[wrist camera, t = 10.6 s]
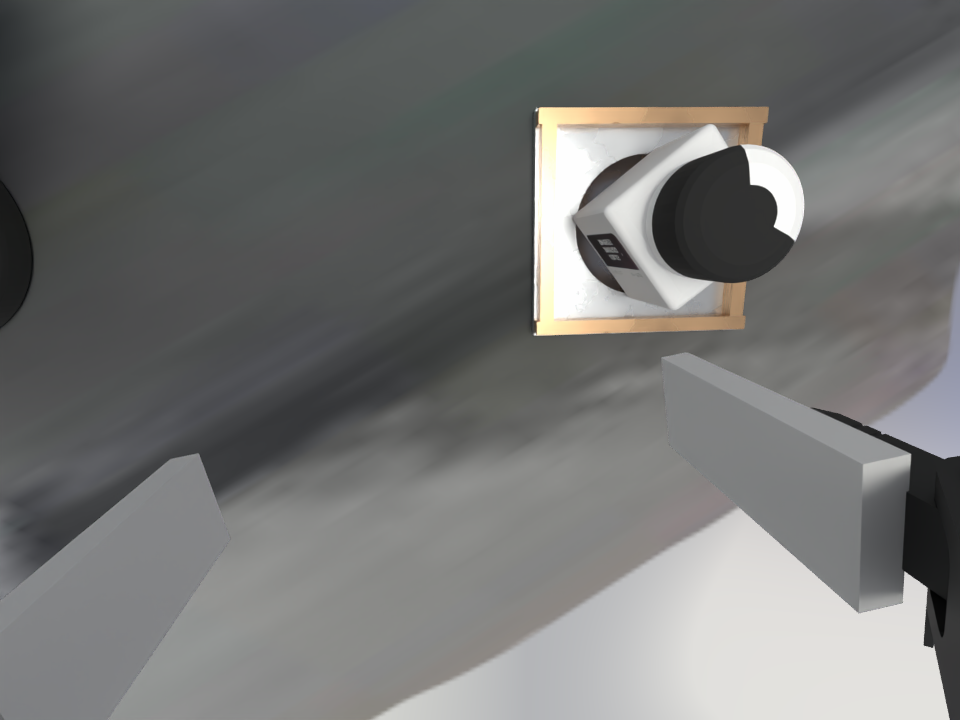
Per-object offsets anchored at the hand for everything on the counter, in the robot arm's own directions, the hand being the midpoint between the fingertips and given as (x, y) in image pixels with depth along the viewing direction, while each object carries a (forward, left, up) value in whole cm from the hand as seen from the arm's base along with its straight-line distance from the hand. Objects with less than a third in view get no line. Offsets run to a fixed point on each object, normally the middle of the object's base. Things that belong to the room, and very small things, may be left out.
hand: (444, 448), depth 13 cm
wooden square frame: (+15, +7, -24) cm, 29 cm away
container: (+15, +7, -23) cm, 28 cm away
